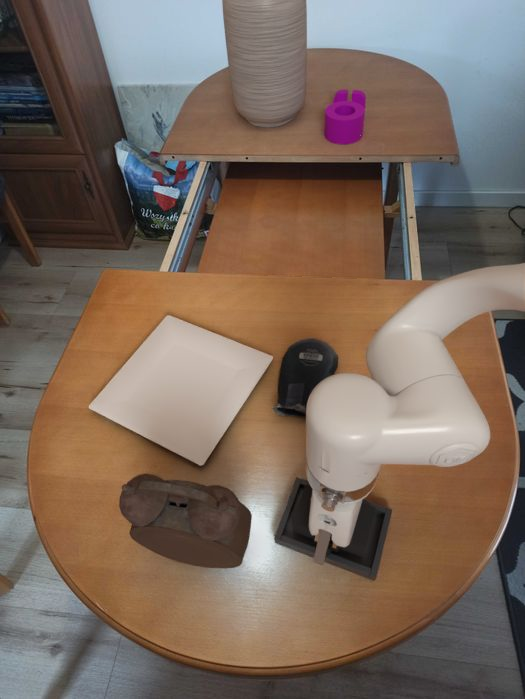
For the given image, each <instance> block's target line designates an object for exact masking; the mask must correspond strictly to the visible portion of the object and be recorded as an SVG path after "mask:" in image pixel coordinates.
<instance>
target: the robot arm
mask: <svg viewBox="0 0 525 699" xmlns="http://www.w3.org/2000/svg"><path fill="white" fill-rule="evenodd" d="M503 310H504V311H506V310H507V311H518V312H523V313H525V262H522V263H515V264H506V265H505V264H504V265H493V266H486V267H485V266H484V267H480V268H475V269H472V270H468V271H464V272H461V273H459V274H454V275H452V276H448V277H446V278H443V279H441V280H439V281H436V282H435V283H432V284H430V285H429V286H427V287H425V288H423V289H421V291H419V292H418V293H416V294H415V295H414V296H413V297H411V299H409V301H407V302H406V303H404V305H402V306H401V307H399V309H398V310H397V311H395V312H394V313H393V314H392V315H391V316H390V317H389V318H388V319H386V321H385V322H383V324H382V325H381V326H380V327H379V328H378V329H377V330H376V331H375V332H374V334H373V336H372V337H371V339H369V342H368V345H367V347H366V351H365V363H366V366H367V369H368V373H369V375H370V377H369V376H367V375H363V374H360V373H356V372H339V373H334V375H332V376H329V377H327V378H325V379H324V380H322V381H321V382H320V383H319V384H318V385H317V386H316V387H315V388H314V389H313V391H312V393H311V394H310V396H309V399H308V402H307V408H306V418H305V476H306V480H308V482H309V484H310V486H311V487H312V489H313V490H312V497H311V505H310V514H309V530H310V533H311V534H312V536H313V535H315V540H314V541H315V542H314V543H315V546H314V548H315V555H314V558H312V562H313V563H315V564H318V565H320V566H324V564H325V562H324V561H325V559H326V555H328V556H329V554H331V552H332V550H333V551H336V552H339V548H340V546H341V547H347V546H348V545H349V544H350V541H351V538H352V535H353V531H354V528H355V524H356V521H357V518H358V514H359V511H360V507H361V503H362V500H363V499H364V500H365V499H366V498H367V497H368V496H369V495H370V494H371V492H372V491H373V490H374V489H375V486H376V484H377V480H378V476H379V473H380V469H381V466H382V465H403V466H404V465H405V466H407V465H409V466H411V465H412V466H435V467H438V468H439V467H440V468H451V467H456V466H460V465H463V464H466V463H468V462H470V461H472V460H473V459H474V458H476V457H477V456H479V455H480V454H482V453H483V452H484V451H485V450H486V448H487V447H488V446H489V444H490V441H491V429H490V425H489V422H488V420H487V417H486V416H485V413H484V412H483V410H482V409H481V406H480V405H479V403H478V402H477V400H476V397H475V396H474V395H473V393H472V391H471V389H470V388H469V386H468V384H467V383H466V381H465V378H464V376H463V375H462V373H461V372H460V370H459V368H458V366H457V365H456V362H455V361H454V359H453V358H452V356H451V354H450V352H449V350H448V349H447V346H446V345H445V343H444V342H443V340H444V339H445V338H446V337H448V336H449V335H450V334H452V332H454V331H455V330H456V329H458V328H459V327H460V326H461V325H463V324H465V323H466V322H468V321H469V320H472V319H473V318H475V317H478V316H480V315H482V314H486V313H490V312H494V311H503Z"/></svg>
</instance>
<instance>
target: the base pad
mask: <svg viewBox="0 0 525 699" xmlns="http://www.w3.org/2000/svg"><path fill="white" fill-rule="evenodd" d="M306 484H308V485H310V484H309V482H308V479H305V478H301V477H298V476H296V478H295V480H294V482H293V486H292V489H291V491H290V494H289V497H288V500H287V502H286V505H285V508H284V510H283V513H282V515H281V518H280V521H279V524H278V527H277V529H276V532H275V534H274V538H273V539H274V544H277V545H279V546H282V547H285V548H288V549H290V550H292V551H295V552H298V553H300V554H303V555H306V556H308V557H311V558H312V559H314V555H315V548H314V546H315V543H314V542H315V541H314V540H315V539H312V538H310V537H307V536H304V535H302V534H299V533H296V532H294V531H293V527H292V521H293V519H294V516H295V513H296V510H297V507H298V504H299V502H300V499H301V496H302V493H303V490H304V487H305V485H306ZM362 503H364V504H367V505H369V506H372V507H375V508H376V510H375V514H374V518H373V522H372V526H371V530H370V534H369V537H368V541H367V545H366V549H365V552H364V555H363V557H361V556H358V555H355V554H353V553H350V552H347V551H345V550H342V549H339V552H336V551H333V550H332V552H331V554H329V556H328V555H326V559H325V561H324V563H326V564H328V565H332V566H334V567H336V568H340V569H342V570H345V571H348V572H350V573H353V574H355V575H357V576H361V577H362V578H366V579H368V580H371V581H373V582H375V581H376V579H377V577H378V572H379V569H380V564H381V560H382V556H383V551H384V547H385V542H386V538H387V533H388V530H389V525H390V523H391V522H390V521H391V518H392V513H393V509H392V508H390V507H387V506H384V505H381V504H378V503H375V502H372V501H369V500H367V499H365V498H364V499H363V500H362Z"/></svg>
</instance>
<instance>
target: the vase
mask: <svg viewBox="0 0 525 699" xmlns="http://www.w3.org/2000/svg"><path fill="white" fill-rule="evenodd" d="M221 2H222V3H221V6H222V19H223V28H224V37H225V38H224V39H225V48H226V56H227V64H228V65H227V66H228V73H229V82H230V89H231V96H232V100H233V105H234V108H235V110H236V111H237V113H238V114H239V115H240V116H241V117H242V118H244V119H245V120H246V121H247V122H248V124H251V125H253V126H256V127H259V128H276V127H281V126H283V125H286V124H288V123H290V122H292V121H293V119H294V118H295V117H296V115H297V114H298V113H300V111H301V109H303V106H304V105H305V102H306V98H307V86H308V85H307V84H308V83H307V80H308V79H307V78H308V77H307V75H308V74H307V73H308V7H307V0H221Z"/></svg>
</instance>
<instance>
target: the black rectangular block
mask: <svg viewBox="0 0 525 699" xmlns="http://www.w3.org/2000/svg"><path fill="white" fill-rule="evenodd" d="M312 490H313V489H312V487H311V486H310V485H308V484H306V485H305V487H304V490H303V493H302V496H301V499H300V502H299V504H298V507H297V510H296V513H295V516H294V519H293V521H292V527H293V531H294V532H296V533H299V534H302V535H304V536H307V537H310V538H312V539H315V535H313V536H312V534H311V533H310V530H309V514H310V505H311V497H312ZM375 510H376V508H375V507H372V506H369V505H367V504H364V503H361V507H360V511H359V514H358V518H357V521H356V524H355V528H354V531H353V535H352V538H351V541H350V544H349V545H348V546H347V547H341V546H340V548H339V549H342V550H345V551H347V552H350V553H353V554H355V555H358V556H361V557H363V555H364V552H365V549H366V545H367V541H368V537H369V534H370V530H371V526H372V522H373V518H374V514H375Z"/></svg>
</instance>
